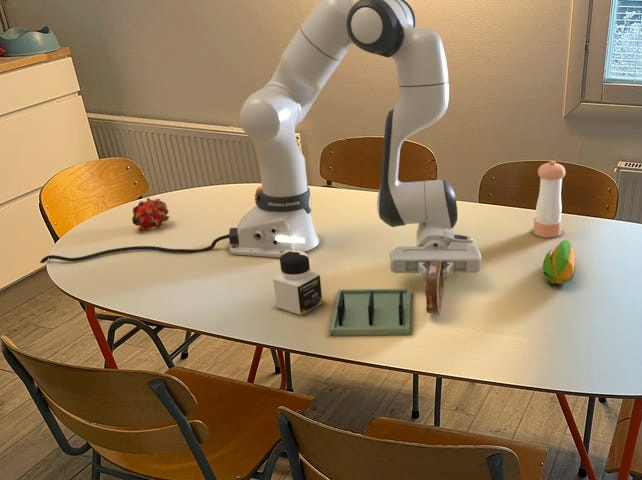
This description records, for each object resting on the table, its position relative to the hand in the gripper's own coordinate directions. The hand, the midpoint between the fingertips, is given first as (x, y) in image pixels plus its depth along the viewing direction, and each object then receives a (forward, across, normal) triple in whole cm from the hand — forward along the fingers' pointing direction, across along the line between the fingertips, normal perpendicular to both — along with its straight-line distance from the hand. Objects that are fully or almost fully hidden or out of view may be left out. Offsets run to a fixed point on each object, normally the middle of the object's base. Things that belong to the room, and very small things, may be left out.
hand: (436, 275), depth 159 cm
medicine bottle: (+1, -30, +7) cm, 30 cm away
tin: (+3, 0, +6) cm, 6 cm away
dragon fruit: (-46, -76, +7) cm, 89 cm away
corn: (-14, +29, +6) cm, 33 cm away
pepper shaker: (-40, +30, +6) cm, 50 cm away
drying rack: (+6, -14, +6) cm, 16 cm away
